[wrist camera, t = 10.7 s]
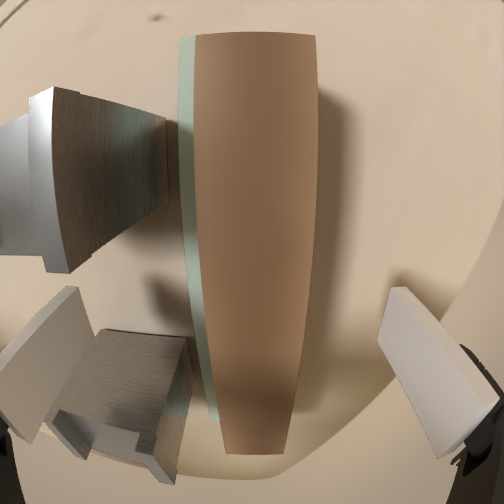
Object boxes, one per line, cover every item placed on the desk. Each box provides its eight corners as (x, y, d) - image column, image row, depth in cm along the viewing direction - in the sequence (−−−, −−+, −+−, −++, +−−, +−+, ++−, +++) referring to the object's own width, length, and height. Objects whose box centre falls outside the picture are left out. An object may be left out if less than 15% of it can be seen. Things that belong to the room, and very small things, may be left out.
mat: (211, 414, 18) (210, 420, 17) (184, 41, 9) (181, 37, 9) (282, 415, 18) (283, 421, 17) (301, 38, 9) (303, 34, 9)
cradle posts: (116, 371, 17) (75, 456, 9) (65, 138, 11) (-54, 153, 3) (196, 381, 17) (174, 485, 9) (168, 117, 11) (53, 86, 3)
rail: (230, 407, 17) (225, 453, 13) (214, 70, 10) (195, 35, 6) (279, 407, 17) (283, 453, 13) (296, 70, 10) (315, 35, 6)
